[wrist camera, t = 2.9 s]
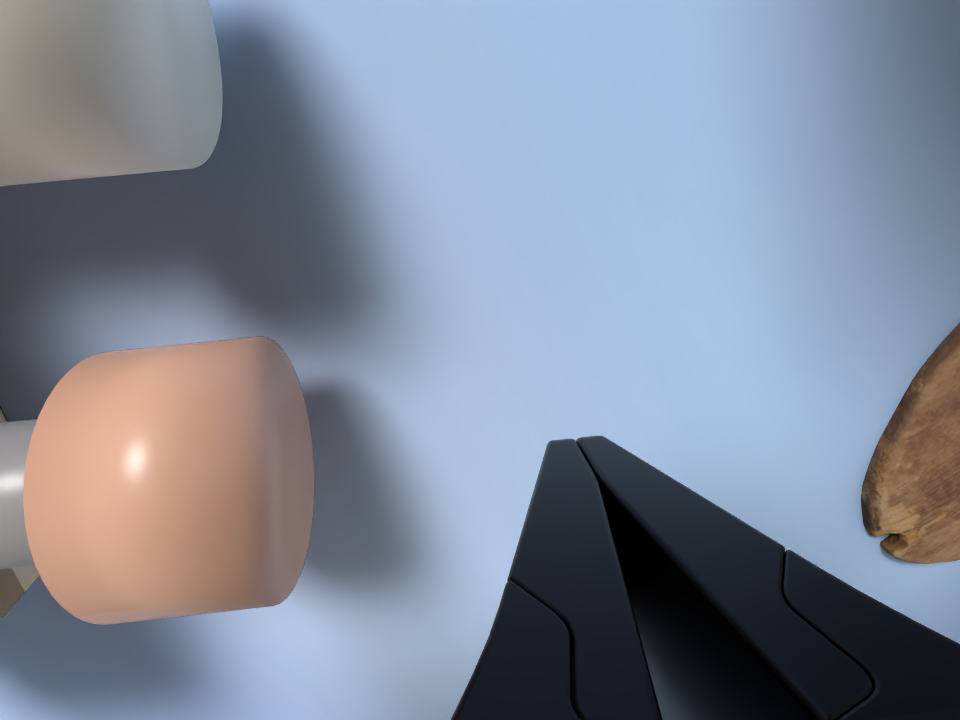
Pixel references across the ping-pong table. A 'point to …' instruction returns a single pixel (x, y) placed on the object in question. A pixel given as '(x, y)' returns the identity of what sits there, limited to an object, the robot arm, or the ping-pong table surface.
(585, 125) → the ping-pong table surface
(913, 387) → the paddle
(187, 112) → the knob
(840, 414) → the ping-pong table surface
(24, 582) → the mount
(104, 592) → the knob
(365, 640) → the ping-pong table surface
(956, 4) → the ping-pong table surface
